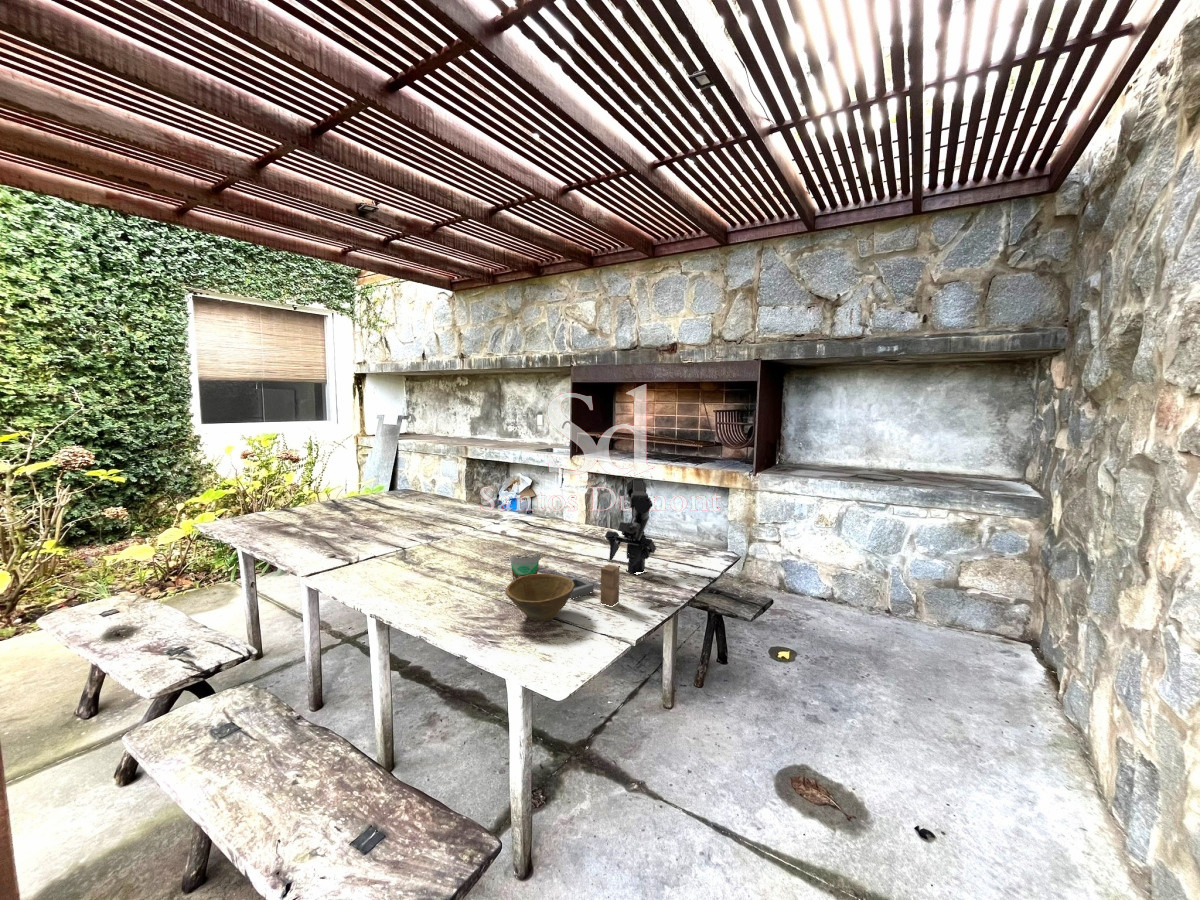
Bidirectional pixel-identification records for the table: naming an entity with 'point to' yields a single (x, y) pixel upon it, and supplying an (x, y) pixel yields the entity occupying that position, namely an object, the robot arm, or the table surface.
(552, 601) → the bowl
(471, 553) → the table surface
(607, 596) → the tall wooden post
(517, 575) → the food container
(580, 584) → the socket
